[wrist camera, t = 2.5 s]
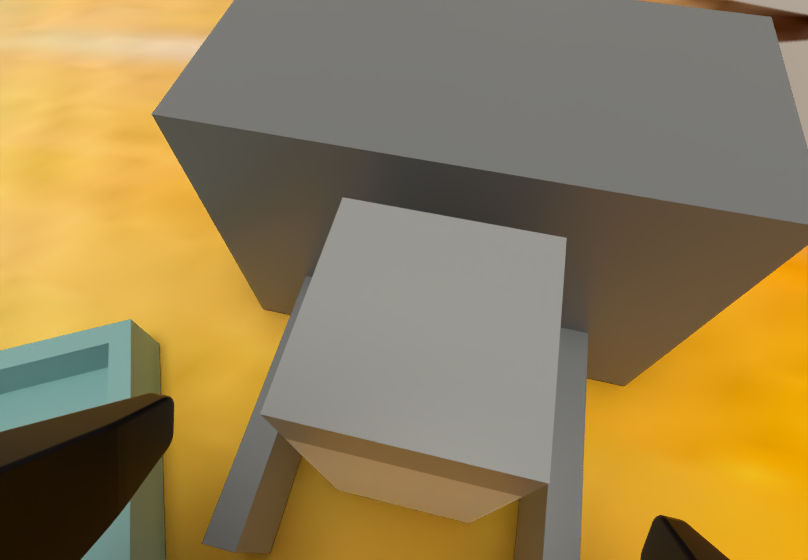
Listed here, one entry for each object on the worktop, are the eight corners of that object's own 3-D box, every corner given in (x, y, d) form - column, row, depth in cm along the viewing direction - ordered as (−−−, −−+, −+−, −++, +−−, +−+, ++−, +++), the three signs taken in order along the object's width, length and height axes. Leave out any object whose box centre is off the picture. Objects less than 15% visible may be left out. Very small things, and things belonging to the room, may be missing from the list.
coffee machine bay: (625, 650, 15) (988, 807, 6) (171, 525, 17) (-121, 488, 8) (623, 233, 24) (771, 17, 14) (318, 179, 25) (266, -45, 16)
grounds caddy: (469, 523, 17) (549, 483, 8) (337, 489, 18) (260, 414, 8) (488, 391, 20) (566, 237, 10) (371, 365, 20) (342, 197, 11)
